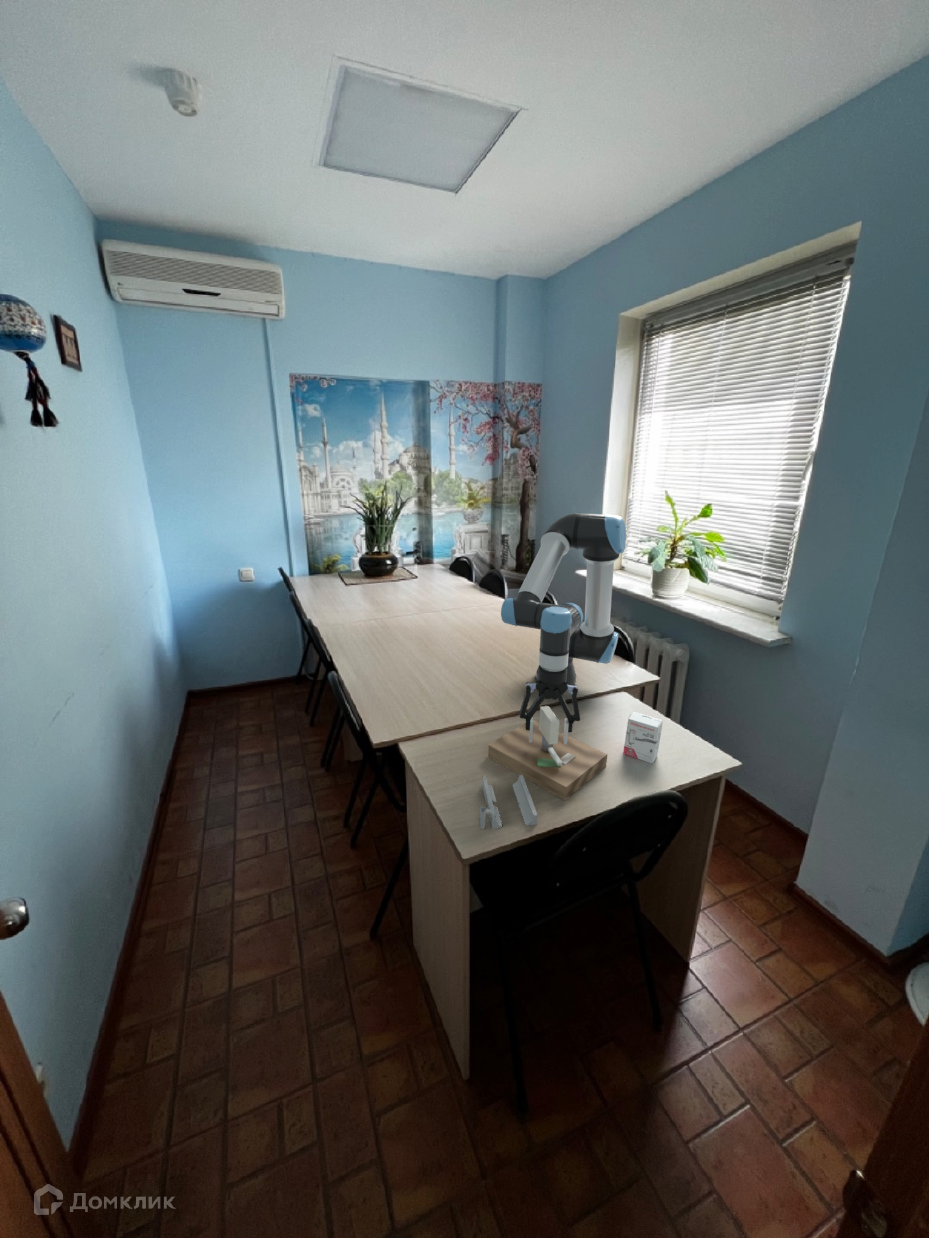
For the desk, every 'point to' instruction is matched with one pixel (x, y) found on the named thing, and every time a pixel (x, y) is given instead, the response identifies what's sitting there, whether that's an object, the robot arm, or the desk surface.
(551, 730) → the white piece
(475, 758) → the desk surface
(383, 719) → the desk surface
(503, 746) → the brown wavy board
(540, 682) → the robot arm
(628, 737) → the ink box
